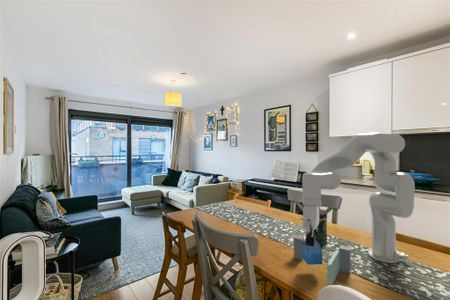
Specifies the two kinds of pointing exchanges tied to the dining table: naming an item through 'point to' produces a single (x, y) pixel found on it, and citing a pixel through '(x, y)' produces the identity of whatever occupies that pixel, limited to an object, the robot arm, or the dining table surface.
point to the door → (333, 268)
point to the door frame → (343, 254)
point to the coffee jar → (322, 227)
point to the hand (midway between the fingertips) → (311, 242)
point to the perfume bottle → (312, 252)
